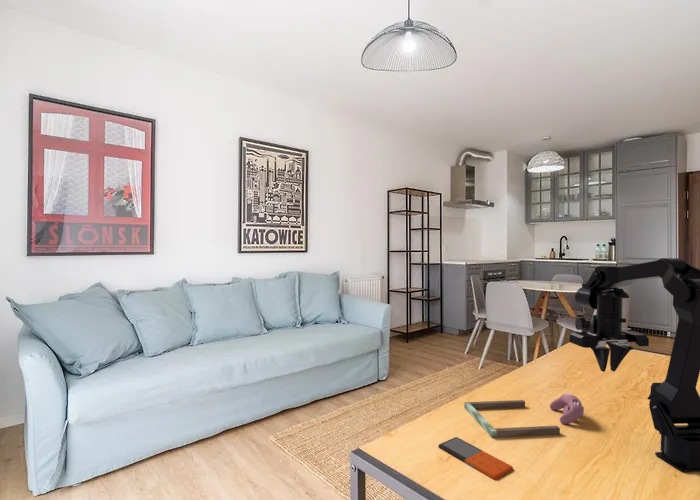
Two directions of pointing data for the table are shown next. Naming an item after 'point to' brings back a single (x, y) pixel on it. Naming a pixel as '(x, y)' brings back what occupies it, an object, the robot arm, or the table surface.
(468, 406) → the u-shaped rail frame
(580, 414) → the video game controller
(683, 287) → the robot arm
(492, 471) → the two-tone rubber eraser
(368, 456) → the table surface
